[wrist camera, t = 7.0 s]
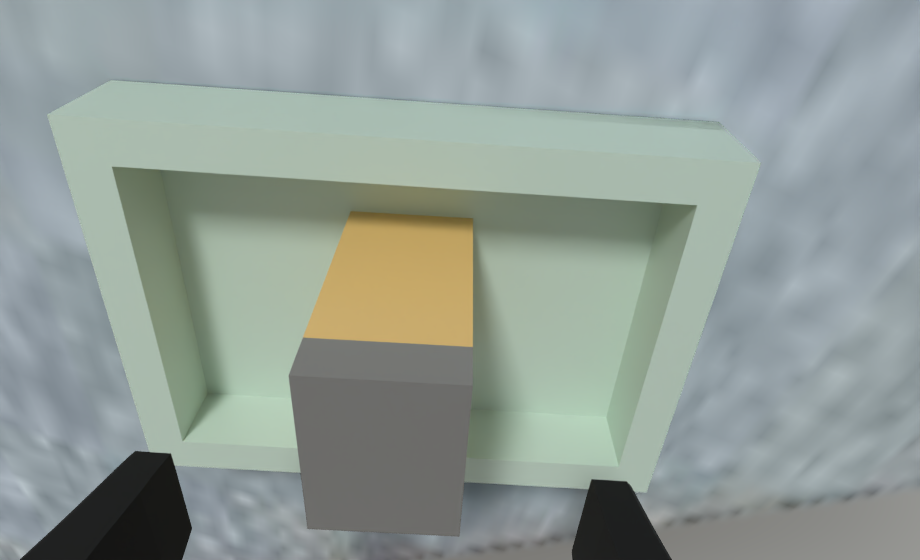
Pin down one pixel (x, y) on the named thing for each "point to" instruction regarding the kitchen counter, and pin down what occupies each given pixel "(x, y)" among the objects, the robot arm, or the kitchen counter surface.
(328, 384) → the block
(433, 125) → the parts tray
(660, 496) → the kitchen counter surface
